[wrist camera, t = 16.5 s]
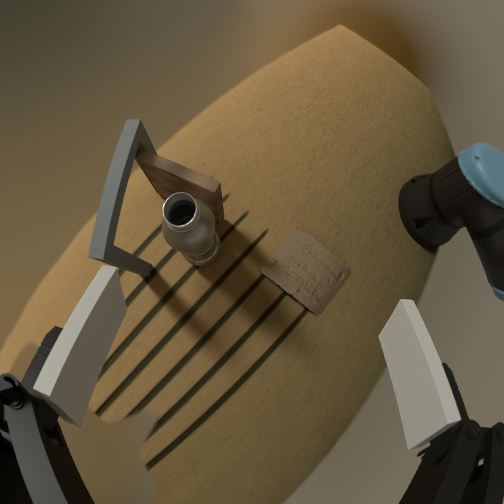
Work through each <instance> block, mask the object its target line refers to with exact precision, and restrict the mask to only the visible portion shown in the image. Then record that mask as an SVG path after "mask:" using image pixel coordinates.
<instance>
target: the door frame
mask: <svg viewBox="0 0 504 504" xmlns="http://www.w3.org/2000/svg"><path fill="white" fill-rule="evenodd" d="M137 149H140V151H141V150H142V149H143V150H146V151H148V152H151V153H153V154H156V155H157V153H156V151H155V149H154V147H153V145H152V143H151V141H150V139H149V136H148V134H147V132H146V130H145V128H144V126H143V124H142V122H141V120H140V119H135V120H134V119H133V120H127V121H126V123H125V126H124V128H123V131H122V134H121V136H120V140H119V142H118V145H117V148H116V151H115V154H114V157H113V160H112V163H111V166H110V169H109V173H108V176H107V180H106V183H105V187H104V190H103V194H102V197H101V202H100V205H99V209H98V213H97V218H96V222H95V226H94V231H93V236H92V241H91V246H90V251H89V257H90V258H93V259H95V260H98V261H101V262H104V263H107V264H110V265H112V266H115V267H118V268H121V269H124V270H127V271H130V272H133V273H136V274H140V275H146V276H150V270H151V264H150V263H148V262H146V261H144V260H142V259H140V258H138V257H136V256H134V255H132V254H130V253H128V252H126V251H124V250H122V249H120V248H118V247H116V246H114V245H113V244H114V239H115V234H116V229H117V224H118V220H119V215H120V211H121V207H122V203H123V198H124V194H125V190H126V187H127V183H128V179H129V176H130V172H131V169H132V165H133V162H134V158H135V155H136V152H137Z"/></svg>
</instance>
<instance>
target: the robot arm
mask: <svg viewBox="0 0 504 504" xmlns="http://www.w3.org/2000/svg"><path fill="white" fill-rule="evenodd" d="M399 212H400V216H401V219H402V222H403V224H404V226H405V228H406V229H407V231H408V232H409V234H410V235H411V236H412V237H413V238H414V239H415V240H416V241H417V242H418V243H420V244H422V245H424V246H427V247H437V246H440V245H443V244H445V243H447V242H448V241H449V240H450V239H451V238H452V237H453V236H454V235H455V234H456V233H457V232H458V231H459V229H460V228H463V227H465V226H466V228H467V230H468V232H469V234H470V236H471V239H472V241H473V243H474V245H475V248H476V250H477V253H478V255H479V257H480V260H481V263H482V265H483V267H484V270H485V273H486V276H487V279H488V282H489V284H490V285H491V287H492V289H493V292H494V294H495V295H496V296H497V297H498V298H499V299H500V300H502V301H504V155H503V154H502V153H501V152H500V151H499V150H498V149H497V148H495V147H493V146H492V145H490V144H487V143H476V144H474V145H473V146H471V147H469V148H468V149H465V150H463V151H461V152H460V154H459V156H457V157H456V158H455V159H453V160H452V161H450V162H449V163H447V164H446V165H445V166H443V167H442V168H440V169H439V170H438V171H436V172H435V173H431V174H424V175H418V176H415V177H413V178H412V179H410V180H409V181H408V182H406V183H405V184H404V186H403V187H402V189H401V191H400V195H399ZM126 312H127V308H126V304H125V300H124V296H123V292H122V288H121V283H120V279H119V274H118V269H117V267H112V266H105V265H103V266H102V267H101V269H100V270H99V271H98V273H97V274H96V276H95V277H94V279H93V281H92V282H91V284H90V285H89V287H88V288H87V290H86V291H85V293H84V295H83V296H82V298H81V299H80V301H79V303H78V304H77V306H76V308H75V309H74V311H73V313H72V314H71V316H70V318H69V319H68V321H67V323H66V325H65V326H64V328H60V327H57V326H55V327H54V328H53V329H52V330H50V331H49V332H48V333H47V334H46V336H45V338H44V339H43V341H42V343H41V346H40V347H39V348H38V350H37V354H35V356H34V358H33V360H32V362H31V364H30V366H29V368H28V370H27V372H26V374H25V376H24V378H23V380H22V381H21V383H20V382H19V381H18V380H17V379H16V378H15V377H14V376H13V375H11V374H9V373H7V374H2V375H0V504H95V503H94V501H93V500H92V498H91V496H90V494H89V492H88V490H87V488H86V486H85V485H84V482H83V480H82V478H81V476H80V474H79V472H78V470H77V468H76V465H75V463H74V461H73V459H72V456H71V454H70V452H69V449H68V447H67V444H66V441H65V439H64V436H63V434H62V431H61V428H60V425H59V423H58V421H57V420H58V417H59V416H60V417H61V418H62V419H63V420H64V421H66V422H69V423H71V424H73V425H76V426H79V427H81V424H82V421H83V418H84V415H85V412H86V410H87V407H88V404H89V401H90V398H91V396H92V393H93V390H94V387H95V385H96V382H97V380H98V377H99V374H100V372H101V369H102V367H103V364H104V362H105V360H106V357H107V355H108V352H109V350H110V348H111V345H112V343H113V341H114V338H115V336H116V334H117V331H118V329H119V327H120V325H121V322H122V320H123V318H124V316H125V314H126ZM378 337H379V340H380V343H381V346H382V349H383V353H384V356H385V359H386V362H387V366H388V369H389V373H390V376H391V380H392V383H393V387H394V391H395V395H396V399H397V403H398V407H399V411H400V415H401V419H402V424H403V428H404V433H405V438H406V442H407V447H408V450H410V449H414V448H418V447H421V446H423V445H425V444H426V443H428V442H430V446H429V447H427V448H426V449H424V450H422V451H421V452H419V453H418V455H417V456H421V455H422V454H424V453H425V455H424V456H422V457H421V459H422V461H421V463H420V465H419V467H418V470H417V471H416V473H415V475H414V477H413V479H412V481H411V483H410V485H409V487H408V489H407V490H406V492H405V494H404V495H403V497H402V499H401V501H400V502H399V504H502V502H503V497H504V424H503V423H502V422H498V423H497V424H495V425H494V426H493V427H491V428H487V427H480V426H479V424H478V423H477V422H476V421H474V420H470V419H469V417H468V415H467V412H466V409H465V406H464V403H463V400H462V397H461V394H460V391H459V390H458V386H457V383H455V378H454V376H453V373H452V371H451V369H450V368H449V367H448V365H447V364H446V363H441V362H440V359H439V356H438V354H437V351H436V349H435V347H434V344H433V342H432V340H431V338H430V335H429V333H428V331H427V329H426V326H425V324H424V322H423V320H422V318H421V316H420V314H419V311H418V309H417V307H416V305H415V303H414V301H413V300H406V299H401V300H400V301H399V303H398V305H397V307H396V308H395V310H394V312H393V313H392V315H391V317H390V318H389V320H388V322H387V323H386V325H385V327H384V328H383V330H382V331H381V333H380V335H379V336H378ZM482 459H484V461H483V464H482V465H480V466H479V464H478V462H479V461H480V460H482Z"/></svg>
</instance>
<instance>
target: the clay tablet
mask: <svg viewBox="0 0 504 504" xmlns="http://www.w3.org/2000/svg"><path fill="white" fill-rule="evenodd" d="M260 270H261V272H262V273H263V274H264V275H265V276H267V277H269V278H270V279H271V280H273V281H274V282H275V283H276V284H277V285H279V286H280V287H281V288H282V289H283V290H285V291H286V292H287V293H289V294H292V295H293V297H294V298H296V299H297V300H299V302H300V303H302V304H303V305H304V306H305V307H306V308H308V309H309V310H310V311H312V312H313V313H314V315H316V316H317V315H318V314H321V313H322V312H323V310H324V309H325V308H326V306H327V305H328V304H329V302H330V301H331V299H332V298H333V297H334V296H335V295H336V293H337V292H338V290H339V289H340V288H341V286H342V285H343V284H344V282H345V280H346V279H348V278H349V276H350V275H351V271H350V270H349V269H348V268H347V267H346V265H345V263H342V261H341V260H340V259H339V258H338V257H336V256H334V255H332V254H331V252H330V251H329V250H328V249H326V248H325V246H324V245H323V244H321V243H320V242H319V240H317V239H315V237H314V236H312V235H310V234H308V233H306V232H304V231H303V230H301V229H298V228H294V230H293V232H292V233H291V234H290V235H289V237H288V238H287V239H286V240H285V241H284V242H283V243H282V245H281V246H280V247H279V248H278V249H277V250H276V251H275V252H274V253H273V254H272V255H271V257H270V258H269V259H268V260H267V261H266V262H265V263H264V264H263V265H262V266H261V267H260Z"/></svg>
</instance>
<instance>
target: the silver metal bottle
mask: <svg viewBox="0 0 504 504" xmlns="http://www.w3.org/2000/svg"><path fill="white" fill-rule="evenodd" d="M162 231H163V235H164V238H165V240H166V241H167V243H168V244H169V245H170V246H171V247H172V248H174V249H175V250H177V251H180V252H181V253H182V255H183V257H184V258H185V259H186V260H187V261H188V262H189V263H190V264H193V265H195V266H205V265H208V264H210V263H211V262H213V261H214V260H215V259H216V258H217V256H218V254H219V252H220V248H221V242H220V238H219V235H218V234H217V232H216V231H215V218H214V215H213V212H212V210H211V209H210V207H209V206H208V205H207V204H206V203H204V202H203V201H201V200H198V199H196V198H193V197H192V196H191V195H190V194H188V193H185V192H178V193H175V194H172V195H171V196H169V197H168V198H167V200H166V201H165V203H164V206H163V220H162Z"/></svg>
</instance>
